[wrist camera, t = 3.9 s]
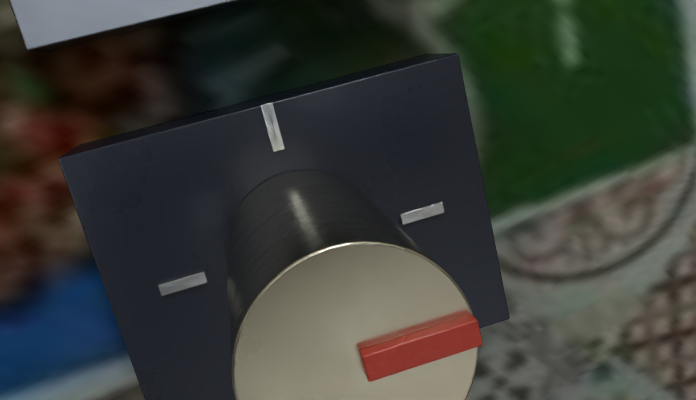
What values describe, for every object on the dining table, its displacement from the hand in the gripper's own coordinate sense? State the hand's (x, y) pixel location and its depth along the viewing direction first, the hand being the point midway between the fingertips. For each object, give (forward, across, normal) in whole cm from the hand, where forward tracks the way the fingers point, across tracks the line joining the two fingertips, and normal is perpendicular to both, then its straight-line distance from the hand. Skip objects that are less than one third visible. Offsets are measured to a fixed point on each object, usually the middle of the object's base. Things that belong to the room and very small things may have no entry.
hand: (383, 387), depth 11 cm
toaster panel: (+12, 0, 0) cm, 12 cm away
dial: (+9, 0, 0) cm, 9 cm away
